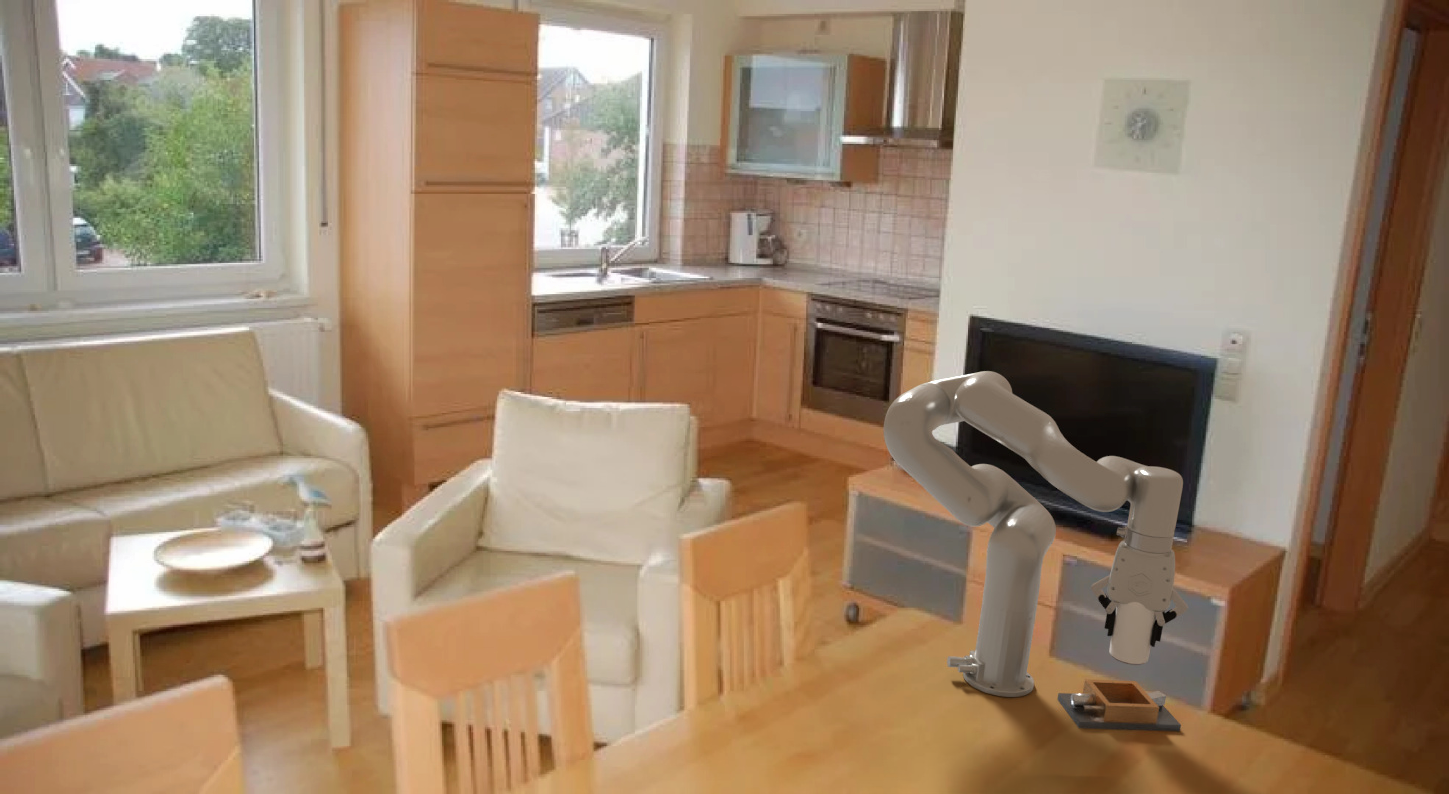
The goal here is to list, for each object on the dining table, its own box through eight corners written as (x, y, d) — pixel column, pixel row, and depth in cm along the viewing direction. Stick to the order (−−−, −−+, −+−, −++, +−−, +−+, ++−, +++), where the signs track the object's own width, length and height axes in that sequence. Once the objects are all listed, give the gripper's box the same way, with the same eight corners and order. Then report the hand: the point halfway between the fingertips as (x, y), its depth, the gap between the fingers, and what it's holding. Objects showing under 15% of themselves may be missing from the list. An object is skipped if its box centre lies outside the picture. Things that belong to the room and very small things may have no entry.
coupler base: (1078, 728, 198) (1082, 705, 197) (1057, 699, 208) (1060, 677, 207) (1179, 731, 200) (1184, 709, 199) (1153, 702, 210) (1157, 681, 209)
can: (1150, 668, 198) (1162, 602, 195) (1110, 662, 199) (1122, 596, 196) (1145, 652, 204) (1156, 588, 201) (1106, 646, 205) (1117, 582, 202)
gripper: (1092, 535, 196) (1076, 634, 201) (1202, 558, 190) (1183, 660, 194) (1098, 523, 203) (1083, 619, 207) (1204, 545, 196) (1186, 643, 200)
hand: (1131, 637), depth 200 cm, fingers closed on can, 6 cm apart
